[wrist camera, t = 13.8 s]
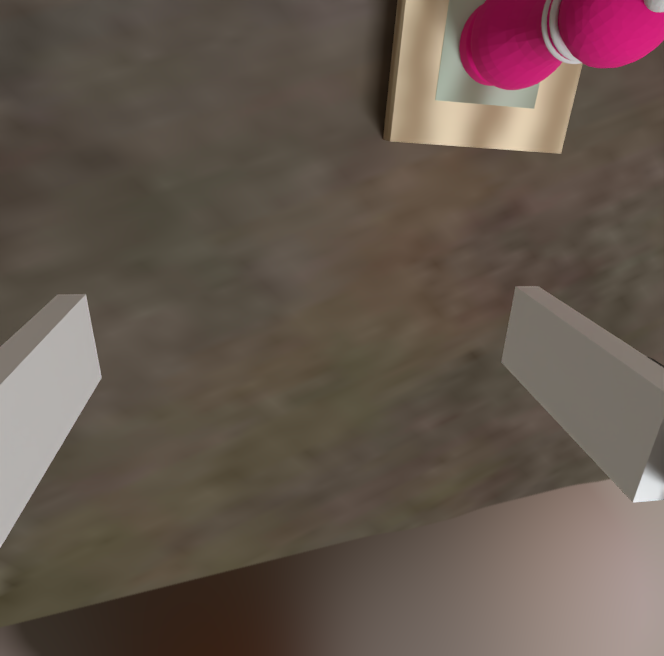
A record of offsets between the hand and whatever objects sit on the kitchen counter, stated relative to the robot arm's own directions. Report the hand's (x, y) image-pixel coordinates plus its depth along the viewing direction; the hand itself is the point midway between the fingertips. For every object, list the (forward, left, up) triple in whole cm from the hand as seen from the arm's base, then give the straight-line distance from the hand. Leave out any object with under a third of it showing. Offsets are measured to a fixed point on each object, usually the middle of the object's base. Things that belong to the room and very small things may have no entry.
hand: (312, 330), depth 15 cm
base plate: (+17, +13, -34) cm, 40 cm away
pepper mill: (+17, +13, -31) cm, 37 cm away
